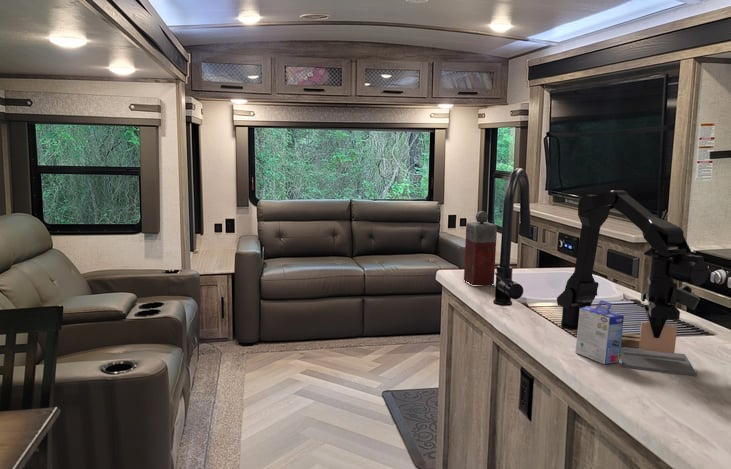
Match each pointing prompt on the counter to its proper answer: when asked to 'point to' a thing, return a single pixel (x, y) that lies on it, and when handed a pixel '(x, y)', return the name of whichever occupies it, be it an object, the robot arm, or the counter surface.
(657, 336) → the robot arm
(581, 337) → the ink cartridge box
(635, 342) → the stand
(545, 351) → the counter surface
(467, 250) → the square decanter
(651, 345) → the tile
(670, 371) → the mat
